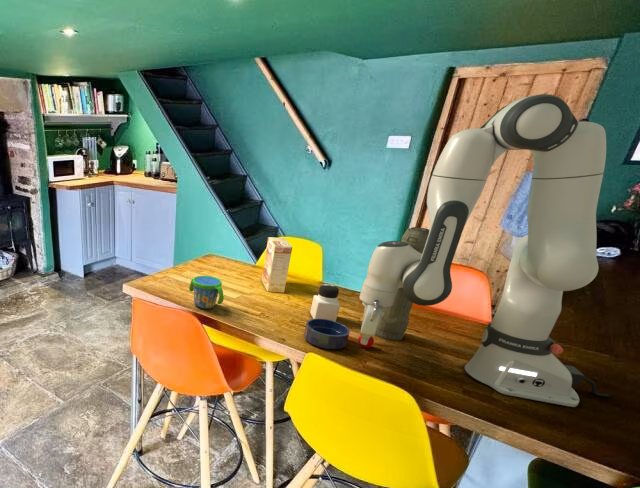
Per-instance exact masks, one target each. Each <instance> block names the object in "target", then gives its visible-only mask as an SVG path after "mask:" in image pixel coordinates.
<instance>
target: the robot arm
mask: <svg viewBox="0 0 640 488" xmlns="http://www.w3.org/2000/svg"><path fill="white" fill-rule="evenodd" d="M521 150H528V151H529V152H530V153H531V154H532V157H533V168H532V173H531V181H530V186H529V192H528V199H527V205H526V211H525V212H526V218H527V234H526V235H523V236H522V237H520V238H519V239H518V240H517V241H516V243H515V244H514V246H513V247H512V255H511V259H510V263H509V265H508V266H509V267H508V270H507V274H506V278H505V282H504V287H503V290H502V291H503V292H502V295H501V299H500V301H499V303H498V306H497V308H496V311H495V313H494V316H493V318H492V320H491V322H490V323H488V324H487V326H486V328H485V329H484V331H483V334H482V337H481V340H480V341H481V344H480V346H479V347H478V349H477V350H476V352H475V354H474V355H473V356H472V357H471V359H470V360H469V361H468V362H467V363H465V365H464V371H465V372H466V373H467V374H468V375H469V376H471V377H472V378H473V379H475V380H477V381H478V382H479V383H482V384H485V385H487V386H489V387H490V388H492V389H493V390H495V391H496V392H498V393H500V394H502V395H504V396H505V395H506V396H511V397H517V398H521V399H527V400H533V401H539V402H543V403H547V404H548V403H549V404H555V405H559V406H560V405H561V406H565V407H571V408H576V407H578V405H579V403H580V396H579V394H578V393H577V392H576V391H575V389H574V388H573V387H572V386H578V387H579V386H580V385H581V383H582V381H585V382H587V383H589V384H590V385H591V392H592V394H593V395H595V396H598V397H605V398H609V397H610V394H609V393H601V392H598V391H597V384H596V383H595V382H594V381H593V380H592V379H590V378H588V377H586V376H585V375H584V374H583V373H582V372H581V371H580V370H579V369H578V368H576V367H575V366H573V365H569V364H568V365H567V364H564V363H562V361H561V360H559V358H558V357H557V356H556V355H560V354H563V352H564V349H563V347H562V346H561V345H560V344H558V343H557V342H556V341H555V340H554V339H553V338H551V337H550V336H551V335H550V334H551V333H552V330H553V329H554V327H555V325H556V323H557V320H558V319H559V316H560V314H561V312H562V303H563V302H562V301H563V294H564V292H569V291H575V290H578V289H582V288H583V287H585V286H588V285H589V284H590V283H591V282H592V281H594V279H595V278H596V277H597V275H598V272H599V268H600V267H599V262H598V258H597V241H598V239H597V236H598V235H597V233H598V232H597V208H598V203H599V197H600V192H601V188H602V183H603V179H604V173H605V167H606V162H607V161H606V160H607V134H606V129H605V128H604V126H602V124H599V123H596V122H593V121H578V119H577V118H576V116H575V115H574V114H573V112H572V110H571V108H570V106H569V105H568V104H567V102H566V101H565V100H564V99H563V98H561V97H559V96H556V95H553V94H548V93H543V94H541V93H540V94H534V95H528V96H525V97H521V98H519V99H516V100H514V101H512V102H510V103H508V104H506V105H505V106H503V107H501V108H500V109H499V110H497V111H496V112H495V113H494V114H493V115H492V116H490V118H489V119H488V120H487V121H486V122H484V124H483V125H481V126H480V127H479V128H478V127H477V128H476V127H475V128H466V129H462V130H460V131H458V132H455V133H454V134H452V135H451V137H449V139H448V140H447V143H446V144H445V146H444V148H443V149H442V151H441V153H440V155H439V157H438V160H437V161H436V164H435V166H434V169H433V171H432V174H431V177H430V180H429V183H428V189H427V195H426V206H427V209H428V214H429V230H430V231H429V235H428V238H427V241H426V244H425V248H424V251H423V254H421V253H419V252H418V251H416V250H415V249H414V248H412V247H411V246H410V245H409V244H408V243H406V242H401V241H400V240H387V241H383V242H381V243H379V244H378V245H377V246H376V247H375V248H374V250H373V252H372V255H371V256H370V260H369V264H368V266H367V274H366V277H365V279H364V281H363V284H362V286H361V290H360V293H359V300H360V301H361V303H362V304H361V305H363V307H364V309H363V315H362V321H361V326H360V331H359V332H360V335H362V338H361V341H360V343H361V344H364V345H367V343H368V340H369V338H370V336H371V337H373V338H374V337H375V336H376V335H375V333H376V330H377V327H378V324H379V321H380V317H381V311H382V310H386V309H387V307H390V306H392V305H393V304H394V301H395V298H396V295H397V292H398V289H399V288H403V293H404V295H405V297H406V298H407V299H408V300H409V301H411V302H412V303H413V304H414V305H418V306H423V307H429V306H435V305H439V304H440V303H442V302H444V301H445V300H446V299H447V298H448V297H449V296H450V295H451V293H452V291H453V281H452V276H451V269H452V263H453V261H454V259H455V254H456V252H457V250H458V246H459V243H460V240H461V237H462V235H463V232H464V229H465V226H466V225H467V222H468V220H469V218H470V216H471V214H472V212H473V210H474V208H475V206H476V205H477V203H478V201H479V199H480V197H481V195H482V193H483V190H484V188H485V187H486V184H487V182H488V179H489V176H490V173H491V170H492V167H493V166H494V165H495V163H496V161H497V159H499V158H500V156H502V155H503V154H504V153H505V152H509V151H521Z"/></svg>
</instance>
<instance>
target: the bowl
mask: <svg viewBox="0 0 640 488" xmlns="http://www.w3.org/2000/svg"><path fill="white" fill-rule="evenodd" d="M350 332H351V331H350V329H349V327H348V326H346V325H344V324H343V323H341V322H338V321H336V322H335V321H332V320H327V319H313V318H311V319H308V320H307V321H306V323H305V327H304V332H303V338H304V340H305V341H307V342H308V343H309V344H312V345H313V346H316V347H318V348H322V349H326V350H341V349H344V348H345V347H347V343H348V340H349V336H350Z"/></svg>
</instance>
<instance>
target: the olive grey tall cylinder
mask: <svg viewBox="0 0 640 488" xmlns="http://www.w3.org/2000/svg"><path fill="white" fill-rule="evenodd" d="M429 231H430V228H425V227H418V226H412V227H409V228H407V229H406V231H405V232H404V233H403V235H402V237H401V242H406V243H408V244H409V245H410V246H411V247H412V248H414V249H415V250H416V251H418V252H419V253H421V254H423V251H424V248H425V244H426V241H427V238H428V235H429ZM413 304H414V303H412V302H411V301H409V300H408V299H407V298H406V297H405V295H404V293H403V288H399V289H398V292H397V295H396V298H395V301H394V304H393V305H392V306H390V307H387V309H386V310H382V311H381V317H380V321H379V324H378V327H377V330H376V333H375V336H376V337H377V338H380V339H384V340H387V341H395V342H397V341H402V340H403V339H404V335H405V333H406V332H407V329H408V327H409V322H410V314H411V311H412V307H413Z"/></svg>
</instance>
